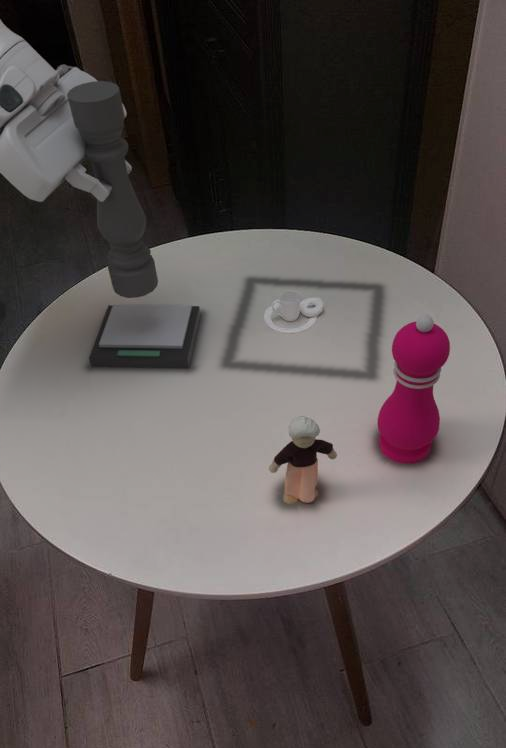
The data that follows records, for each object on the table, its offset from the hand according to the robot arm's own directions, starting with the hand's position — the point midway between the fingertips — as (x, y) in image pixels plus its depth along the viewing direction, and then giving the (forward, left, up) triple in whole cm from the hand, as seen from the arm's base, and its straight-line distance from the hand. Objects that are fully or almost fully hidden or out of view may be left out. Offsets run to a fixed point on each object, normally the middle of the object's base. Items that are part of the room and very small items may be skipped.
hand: (117, 185), depth 82 cm
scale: (-1, 0, -24) cm, 24 cm away
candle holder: (-1, 0, -14) cm, 14 cm away
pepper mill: (+35, -19, -25) cm, 47 cm away
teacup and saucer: (+22, +4, -25) cm, 34 cm away
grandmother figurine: (+23, -27, -25) cm, 43 cm away
